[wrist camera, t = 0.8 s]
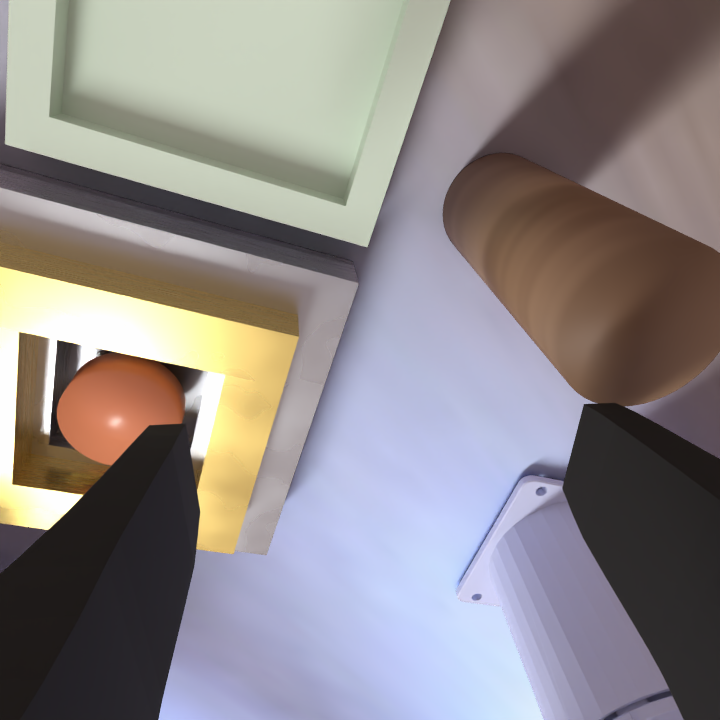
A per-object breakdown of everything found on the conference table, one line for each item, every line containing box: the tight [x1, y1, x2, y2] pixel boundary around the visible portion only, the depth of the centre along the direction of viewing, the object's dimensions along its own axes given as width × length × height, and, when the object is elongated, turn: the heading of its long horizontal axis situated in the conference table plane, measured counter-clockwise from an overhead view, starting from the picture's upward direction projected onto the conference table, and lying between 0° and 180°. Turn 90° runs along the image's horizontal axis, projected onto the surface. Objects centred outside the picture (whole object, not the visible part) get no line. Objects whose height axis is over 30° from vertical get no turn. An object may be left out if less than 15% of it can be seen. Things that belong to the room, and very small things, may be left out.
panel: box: [0, 164, 359, 555], centre depth 18 cm, size 12×12×4 cm
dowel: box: [443, 153, 720, 406], centre depth 14 cm, size 4×4×9 cm
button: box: [57, 352, 186, 466], centre depth 18 cm, size 4×4×1 cm
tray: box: [5, 0, 451, 247], centre depth 14 cm, size 10×10×2 cm
